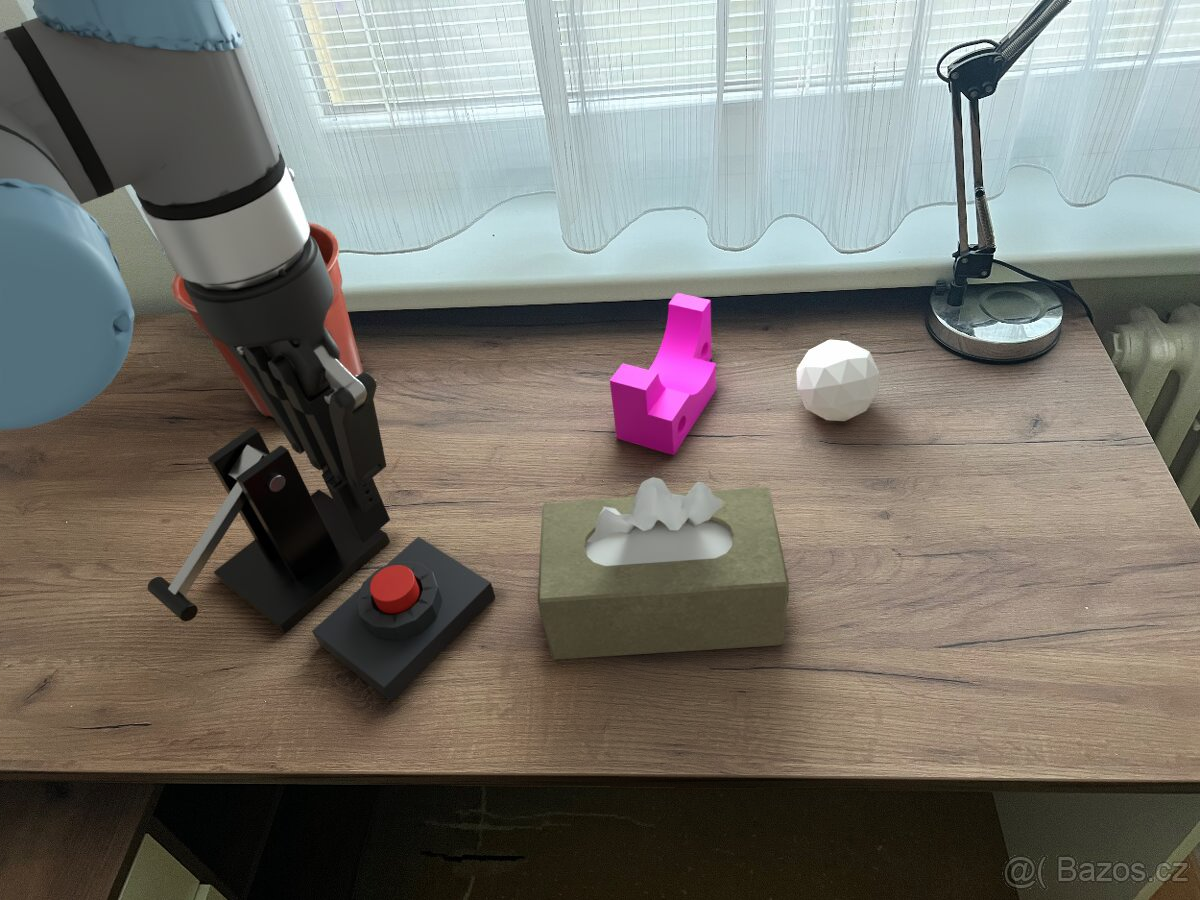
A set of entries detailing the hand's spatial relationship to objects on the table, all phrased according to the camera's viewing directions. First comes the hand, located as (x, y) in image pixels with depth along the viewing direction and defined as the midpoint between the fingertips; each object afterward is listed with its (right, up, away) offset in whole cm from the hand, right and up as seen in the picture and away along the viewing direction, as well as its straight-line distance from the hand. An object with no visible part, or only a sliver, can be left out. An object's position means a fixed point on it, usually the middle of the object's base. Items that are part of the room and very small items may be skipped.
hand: (370, 527), depth 65 cm
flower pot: (-15, +13, +33) cm, 38 cm away
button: (+1, -6, +6) cm, 8 cm away
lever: (-13, -1, +6) cm, 15 cm away
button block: (+1, -9, +8) cm, 12 cm away
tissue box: (+22, -7, +7) cm, 24 cm away
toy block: (+25, +11, +25) cm, 37 cm away
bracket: (-10, -4, +14) cm, 18 cm away
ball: (+40, +10, +22) cm, 47 cm away
